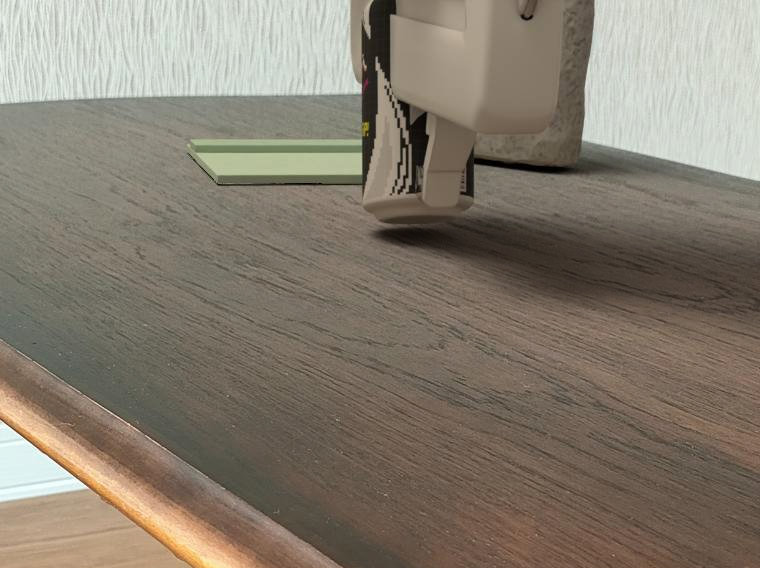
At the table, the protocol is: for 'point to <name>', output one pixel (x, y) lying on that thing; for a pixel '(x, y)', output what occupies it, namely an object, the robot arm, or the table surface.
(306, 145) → the green tray
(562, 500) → the table surface
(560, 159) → the decorative stone
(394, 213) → the beverage can
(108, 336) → the table surface
